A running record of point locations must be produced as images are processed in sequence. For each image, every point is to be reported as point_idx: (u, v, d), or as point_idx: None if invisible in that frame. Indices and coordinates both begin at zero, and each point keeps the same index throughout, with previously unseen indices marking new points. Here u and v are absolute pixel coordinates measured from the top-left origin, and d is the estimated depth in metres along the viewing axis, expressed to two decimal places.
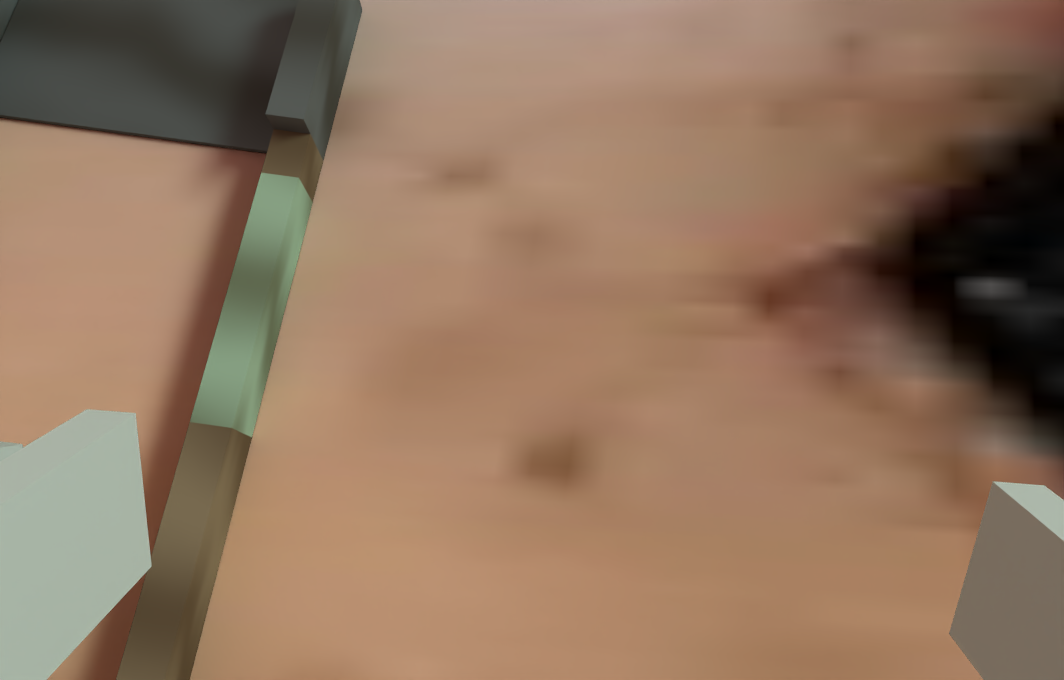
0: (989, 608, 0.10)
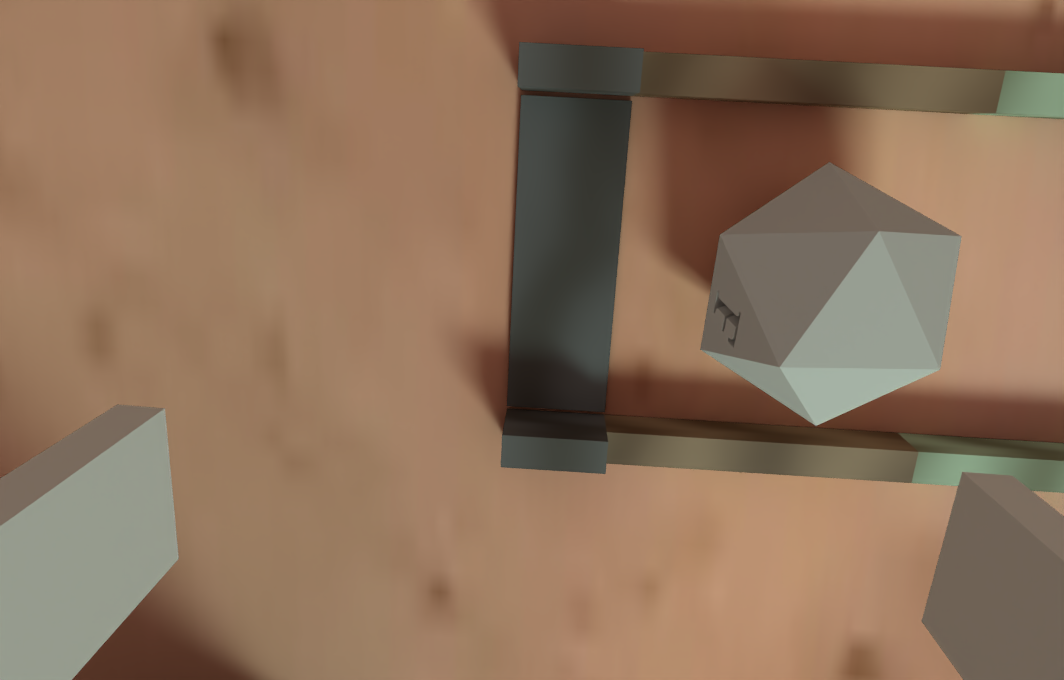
0: (958, 595, 0.11)
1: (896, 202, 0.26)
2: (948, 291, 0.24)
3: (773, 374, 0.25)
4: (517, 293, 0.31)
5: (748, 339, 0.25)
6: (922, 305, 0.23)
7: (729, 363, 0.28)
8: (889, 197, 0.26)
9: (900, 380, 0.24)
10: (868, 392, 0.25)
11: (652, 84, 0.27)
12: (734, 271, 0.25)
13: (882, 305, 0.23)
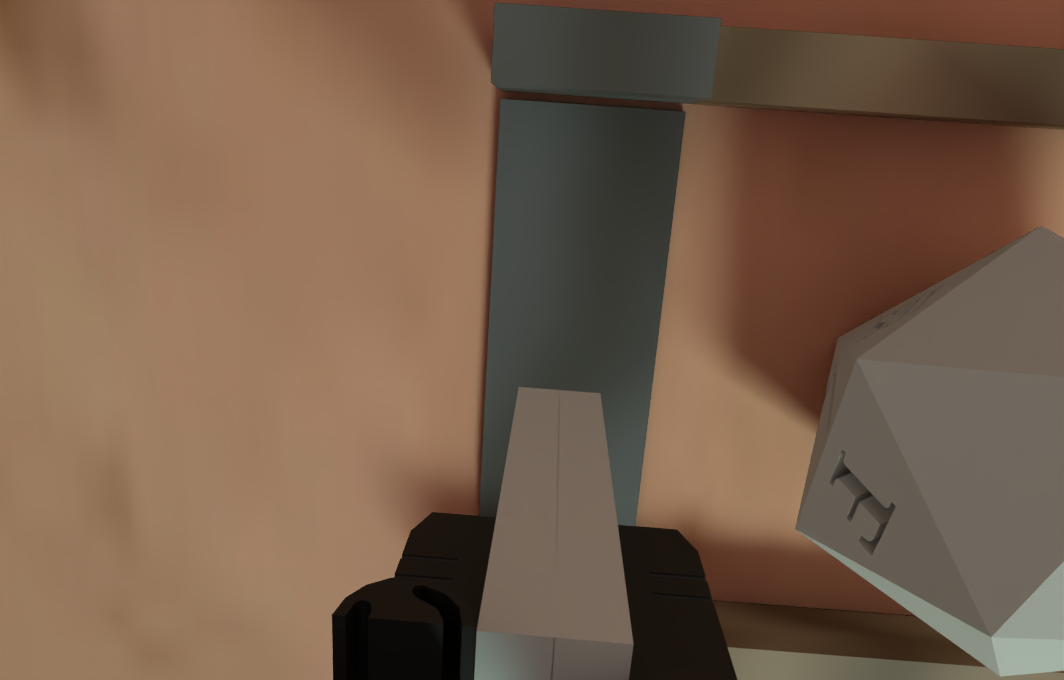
0: None
1: None
2: None
3: (958, 625, 0.13)
4: (493, 415, 0.20)
5: (910, 556, 0.14)
6: None
7: (851, 565, 0.16)
8: None
9: None
10: None
11: (728, 84, 0.15)
12: (886, 430, 0.14)
13: None
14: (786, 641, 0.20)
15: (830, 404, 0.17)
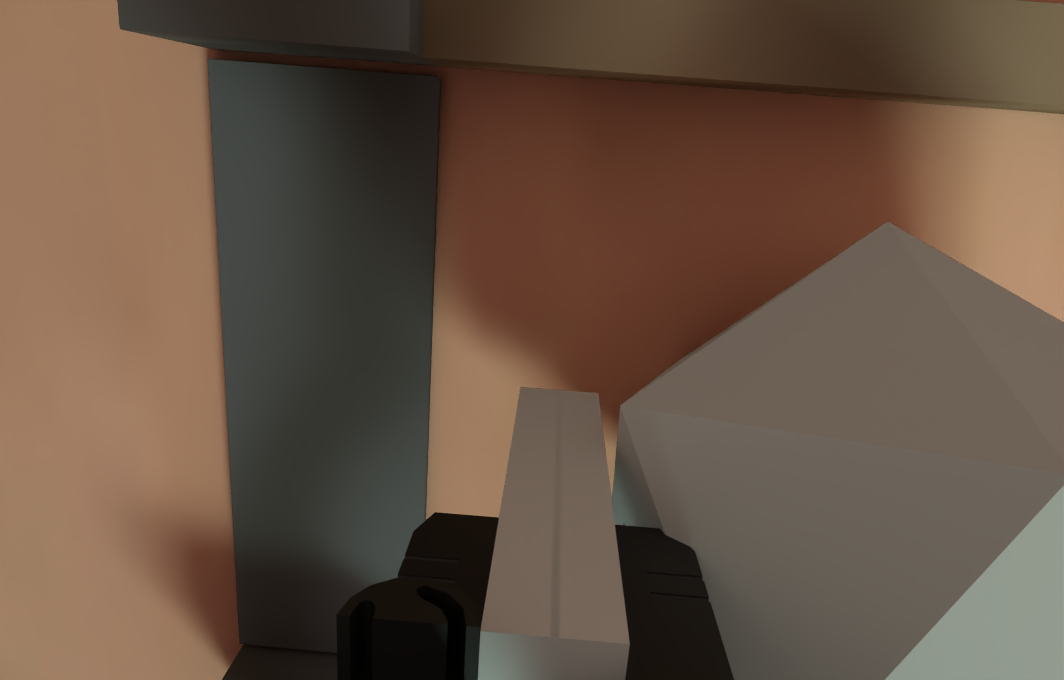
0: None
1: (1058, 327, 0.10)
2: None
3: None
4: (240, 449, 0.16)
5: None
6: None
7: None
8: (1038, 312, 0.11)
9: None
10: None
11: (455, 36, 0.12)
12: (651, 505, 0.10)
13: None
14: None
15: None
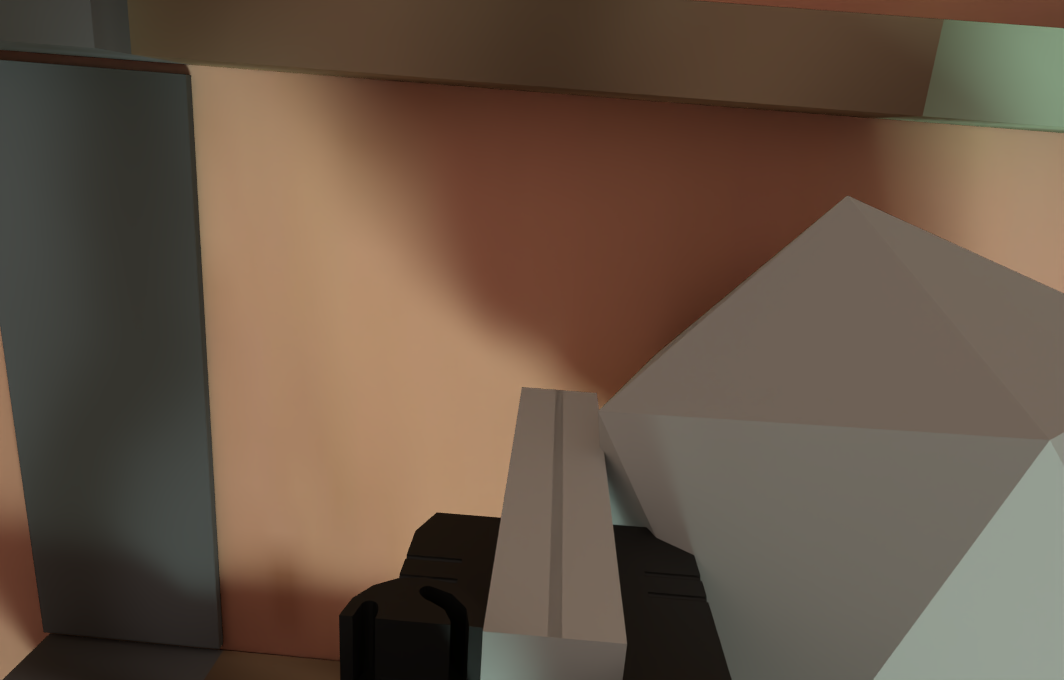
0: None
1: (1027, 284, 0.10)
2: None
3: None
4: (27, 439, 0.17)
5: None
6: None
7: None
8: (1005, 271, 0.11)
9: None
10: None
11: (160, 34, 0.12)
12: (640, 508, 0.10)
13: (1062, 637, 0.08)
14: None
15: None
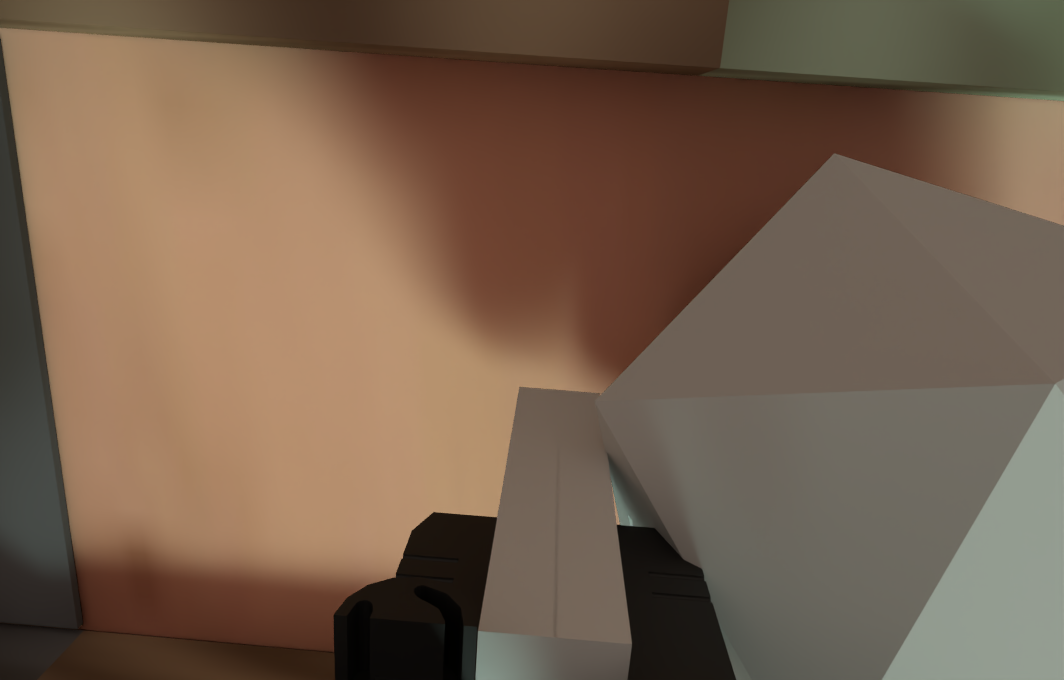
0: None
1: (1033, 224, 0.10)
2: None
3: None
4: None
5: None
6: None
7: None
8: (1009, 213, 0.10)
9: None
10: None
11: None
12: (646, 497, 0.10)
13: None
14: None
15: None
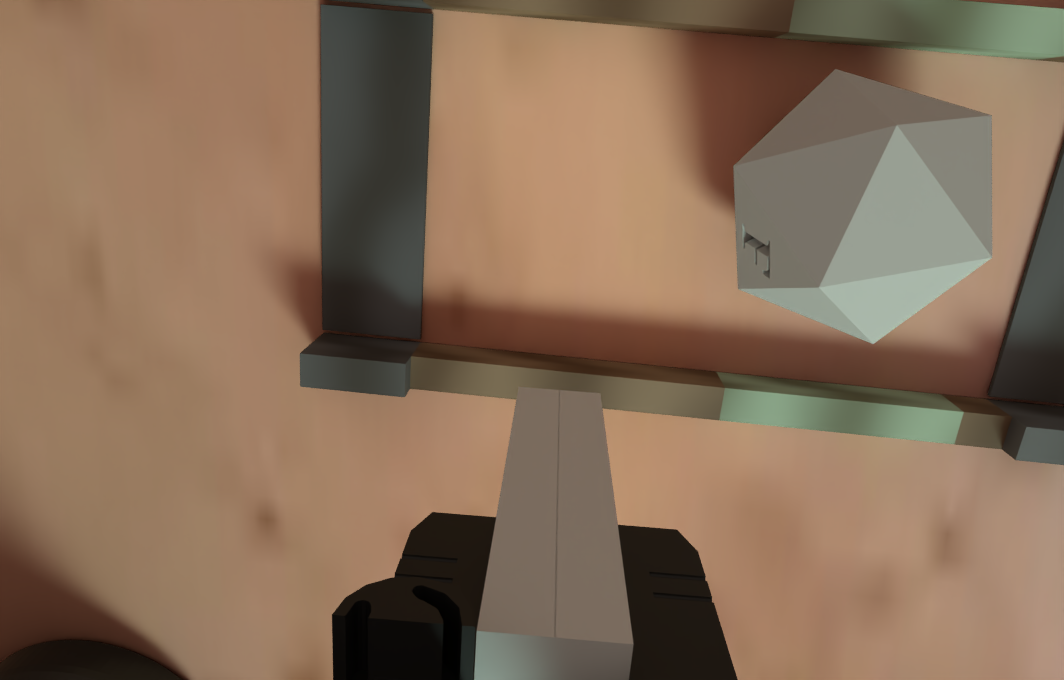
0: None
1: (914, 94, 0.24)
2: (987, 175, 0.23)
3: (815, 297, 0.24)
4: (327, 213, 0.31)
5: (782, 266, 0.24)
6: (960, 194, 0.22)
7: (769, 296, 0.27)
8: (906, 91, 0.25)
9: (951, 277, 0.23)
10: (920, 297, 0.24)
11: None
12: (754, 200, 0.24)
13: (915, 202, 0.22)
14: (511, 363, 0.31)
15: None
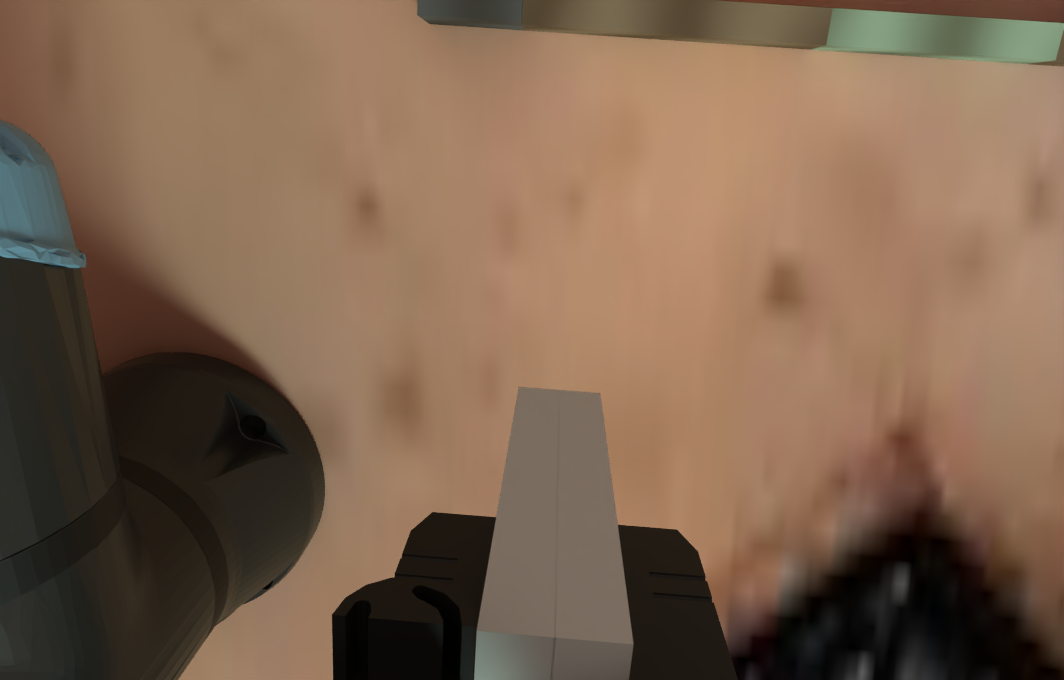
0: None
1: None
2: None
3: None
4: None
5: None
6: None
7: None
8: None
9: None
10: None
11: None
12: None
13: None
14: None
15: None
